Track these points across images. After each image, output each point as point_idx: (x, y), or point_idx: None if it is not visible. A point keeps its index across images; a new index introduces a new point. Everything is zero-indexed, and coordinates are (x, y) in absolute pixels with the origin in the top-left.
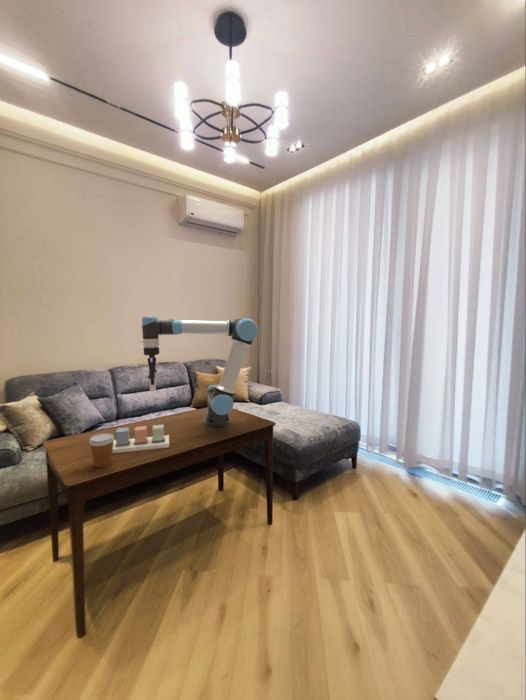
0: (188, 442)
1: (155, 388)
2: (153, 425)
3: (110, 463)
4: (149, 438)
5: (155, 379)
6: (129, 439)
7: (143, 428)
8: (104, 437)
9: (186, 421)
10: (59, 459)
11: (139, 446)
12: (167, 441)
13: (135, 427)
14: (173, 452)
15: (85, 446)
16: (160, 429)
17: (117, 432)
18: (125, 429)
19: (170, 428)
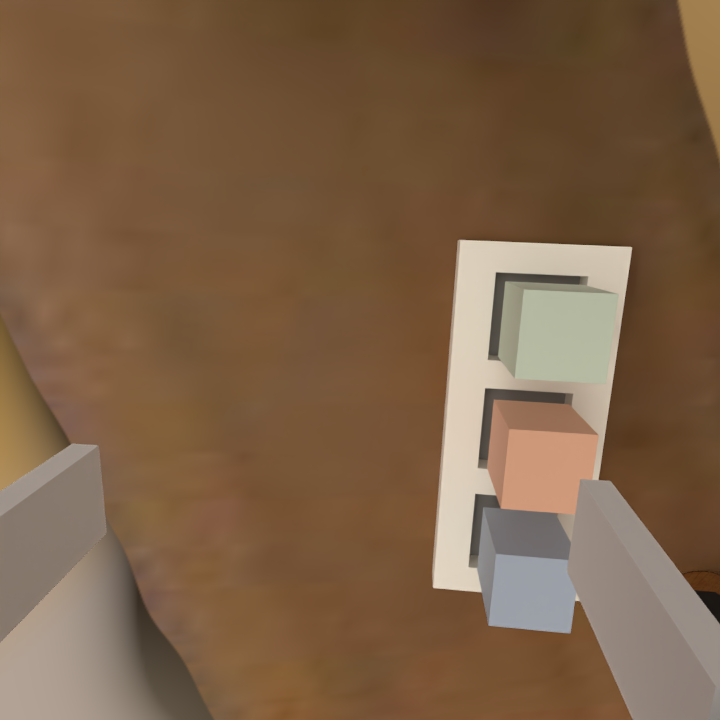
0: (578, 98)
1: (627, 509)
2: (520, 374)
3: (716, 575)
4: (477, 377)
5: (26, 514)
6: (450, 499)
7: (565, 452)
8: None
9: (111, 72)
10: None
11: (599, 440)
12: (584, 256)
13: (516, 509)
14: (713, 222)
15: (411, 700)
16: (611, 318)
17: (570, 621)
18: (536, 575)
19: (246, 217)
